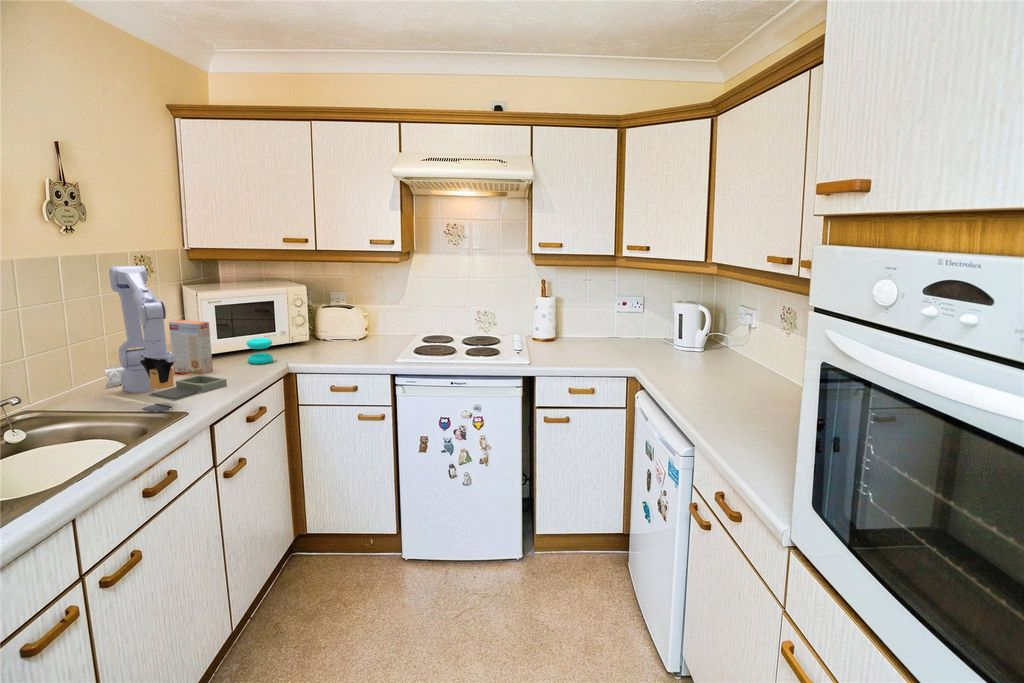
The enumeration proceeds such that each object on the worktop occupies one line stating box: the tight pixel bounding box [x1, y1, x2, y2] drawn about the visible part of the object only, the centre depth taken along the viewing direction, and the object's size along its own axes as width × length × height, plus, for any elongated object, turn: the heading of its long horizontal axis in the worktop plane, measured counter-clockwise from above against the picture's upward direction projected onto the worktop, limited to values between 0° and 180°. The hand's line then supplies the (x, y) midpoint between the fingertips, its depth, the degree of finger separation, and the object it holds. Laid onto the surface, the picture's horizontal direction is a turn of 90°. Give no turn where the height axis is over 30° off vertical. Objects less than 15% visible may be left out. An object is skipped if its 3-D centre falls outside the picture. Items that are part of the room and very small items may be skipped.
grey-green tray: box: [148, 374, 228, 402], centre depth 201 cm, size 13×20×4 cm, turn 157°
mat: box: [141, 403, 173, 413], centre depth 185 cm, size 7×8×1 cm
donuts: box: [246, 337, 274, 365], centre depth 246 cm, size 10×10×10 cm
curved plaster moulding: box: [104, 365, 124, 388], centre depth 207 cm, size 11×20×8 cm, turn 118°
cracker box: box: [168, 319, 214, 375], centre depth 225 cm, size 14×6×21 cm, turn 74°
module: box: [150, 367, 175, 390], centre depth 184 cm, size 4×5×7 cm
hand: (159, 381), depth 184 cm, fingers closed on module, 4 cm apart
